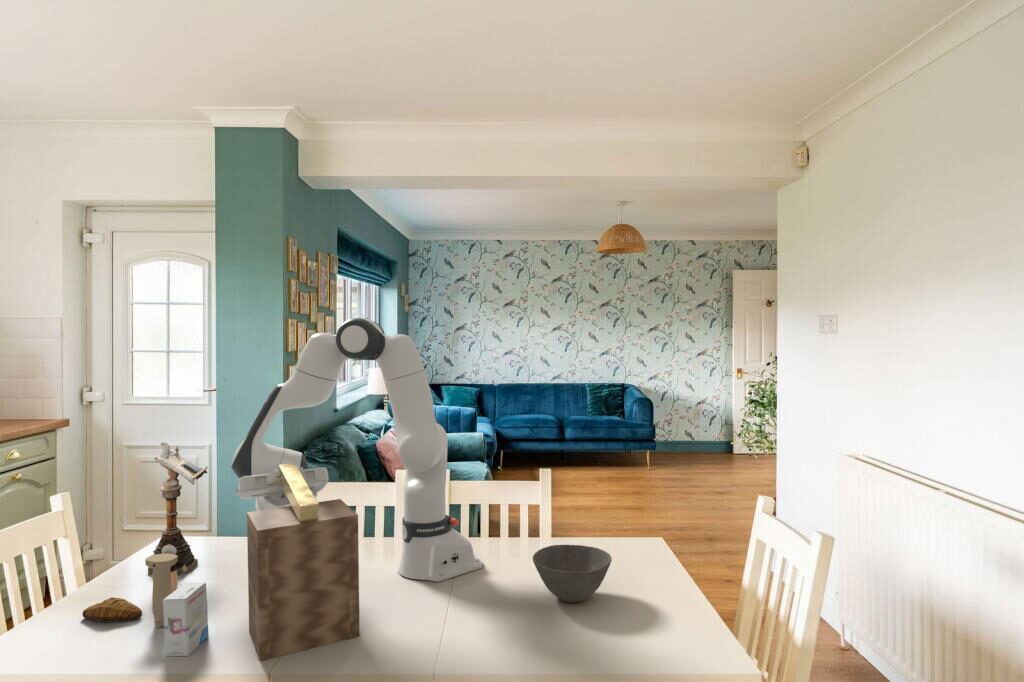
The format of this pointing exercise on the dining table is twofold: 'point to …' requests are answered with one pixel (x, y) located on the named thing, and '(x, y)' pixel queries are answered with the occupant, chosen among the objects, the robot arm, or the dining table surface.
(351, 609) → the walnut stand
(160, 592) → the handle
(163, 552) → the grandmother figurine
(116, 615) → the croissant
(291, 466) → the brass bar
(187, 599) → the ink box
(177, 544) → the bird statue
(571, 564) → the bowl
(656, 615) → the dining table surface
